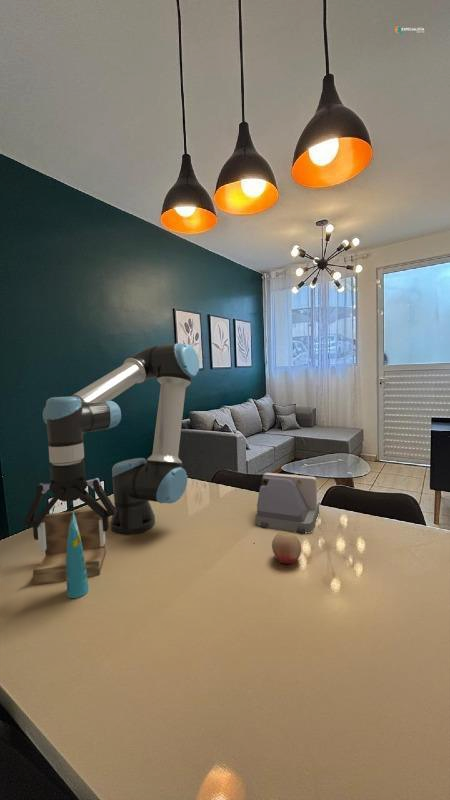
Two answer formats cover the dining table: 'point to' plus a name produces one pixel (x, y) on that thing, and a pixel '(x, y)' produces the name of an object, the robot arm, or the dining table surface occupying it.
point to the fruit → (286, 547)
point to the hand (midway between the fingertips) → (73, 547)
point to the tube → (75, 563)
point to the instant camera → (287, 502)
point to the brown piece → (57, 545)
